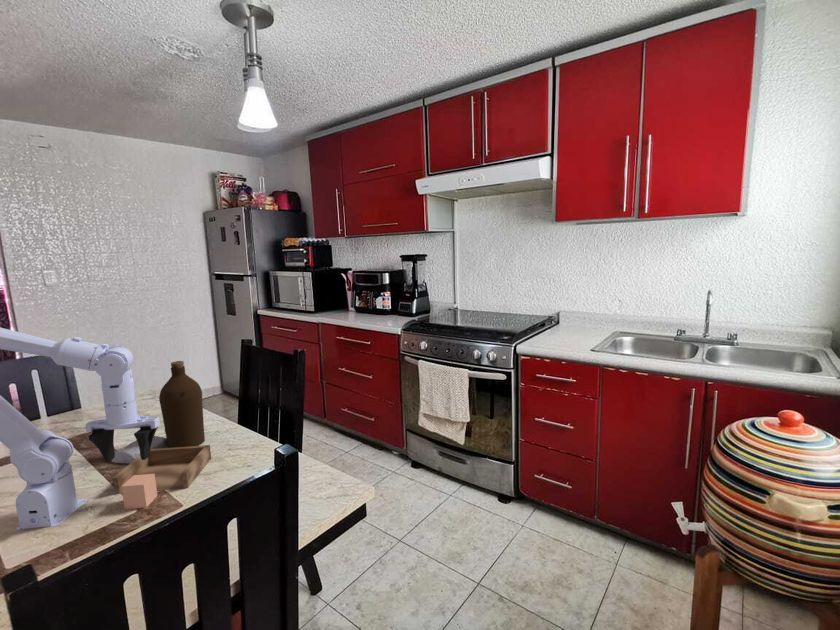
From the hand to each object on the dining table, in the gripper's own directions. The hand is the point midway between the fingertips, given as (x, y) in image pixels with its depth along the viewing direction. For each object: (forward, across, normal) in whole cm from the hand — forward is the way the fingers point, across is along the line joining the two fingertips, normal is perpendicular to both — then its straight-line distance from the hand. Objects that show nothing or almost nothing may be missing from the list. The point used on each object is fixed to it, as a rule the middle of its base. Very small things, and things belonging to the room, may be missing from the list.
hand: (128, 458), depth 93 cm
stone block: (+10, +10, -22) cm, 26 cm away
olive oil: (+10, 0, -26) cm, 28 cm away
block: (+9, -4, +3) cm, 11 cm away
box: (+9, -4, -8) cm, 13 cm away
